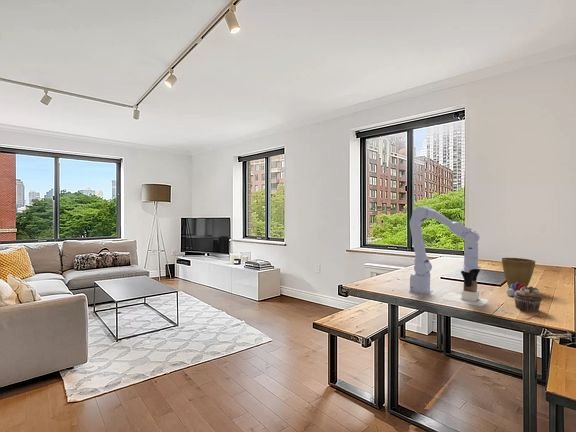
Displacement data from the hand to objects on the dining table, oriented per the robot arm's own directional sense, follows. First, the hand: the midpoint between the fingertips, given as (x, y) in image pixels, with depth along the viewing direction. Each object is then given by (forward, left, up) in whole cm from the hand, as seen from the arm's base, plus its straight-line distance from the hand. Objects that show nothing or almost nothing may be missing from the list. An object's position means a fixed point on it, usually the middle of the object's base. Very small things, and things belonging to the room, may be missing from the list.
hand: (470, 285), depth 157 cm
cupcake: (+22, +1, -7) cm, 23 cm away
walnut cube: (0, 0, -3) cm, 3 cm away
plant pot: (+13, +40, -7) cm, 43 cm away
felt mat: (-2, -2, -7) cm, 7 cm away
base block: (0, 0, -7) cm, 7 cm away
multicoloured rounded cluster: (+16, +22, -7) cm, 28 cm away
